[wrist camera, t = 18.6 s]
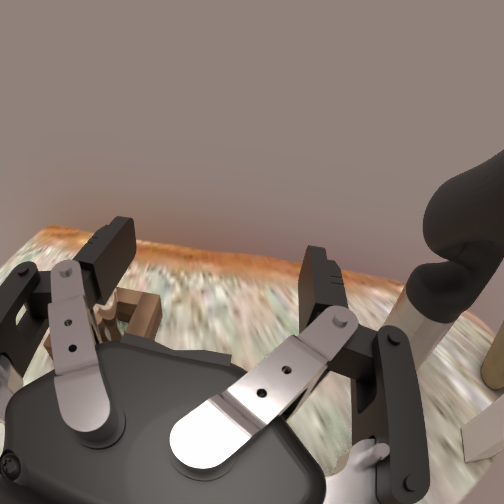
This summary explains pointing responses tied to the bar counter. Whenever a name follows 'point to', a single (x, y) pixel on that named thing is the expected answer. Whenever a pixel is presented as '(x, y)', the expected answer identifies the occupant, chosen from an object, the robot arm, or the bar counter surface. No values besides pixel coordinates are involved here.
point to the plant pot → (495, 362)
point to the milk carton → (485, 433)
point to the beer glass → (109, 319)
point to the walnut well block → (134, 314)
